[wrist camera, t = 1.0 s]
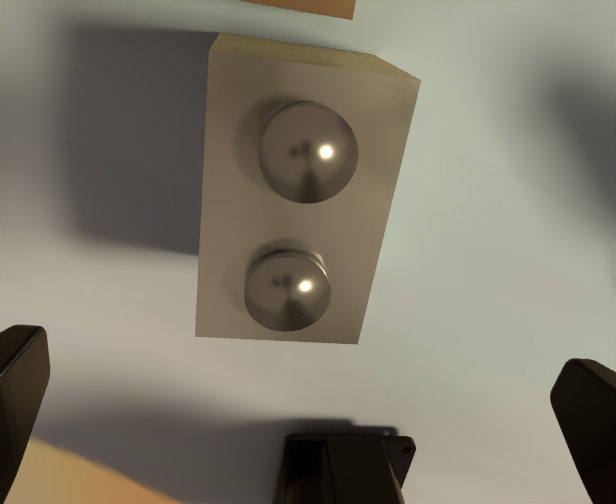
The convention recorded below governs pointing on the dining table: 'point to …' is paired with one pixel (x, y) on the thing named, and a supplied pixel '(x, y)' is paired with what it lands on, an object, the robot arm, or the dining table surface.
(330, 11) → the stand
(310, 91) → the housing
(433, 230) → the dining table surface
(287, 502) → the robot arm
